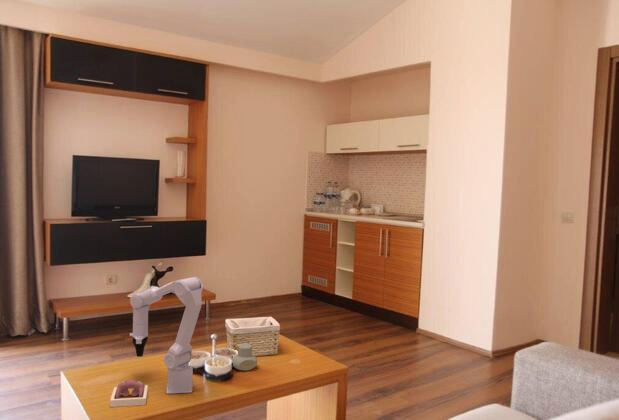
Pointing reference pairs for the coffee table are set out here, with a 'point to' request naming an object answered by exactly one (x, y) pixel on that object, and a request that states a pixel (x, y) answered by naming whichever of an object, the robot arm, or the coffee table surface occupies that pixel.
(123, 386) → the video game controller
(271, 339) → the storage basket
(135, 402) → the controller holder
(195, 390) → the coffee table surface
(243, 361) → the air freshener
